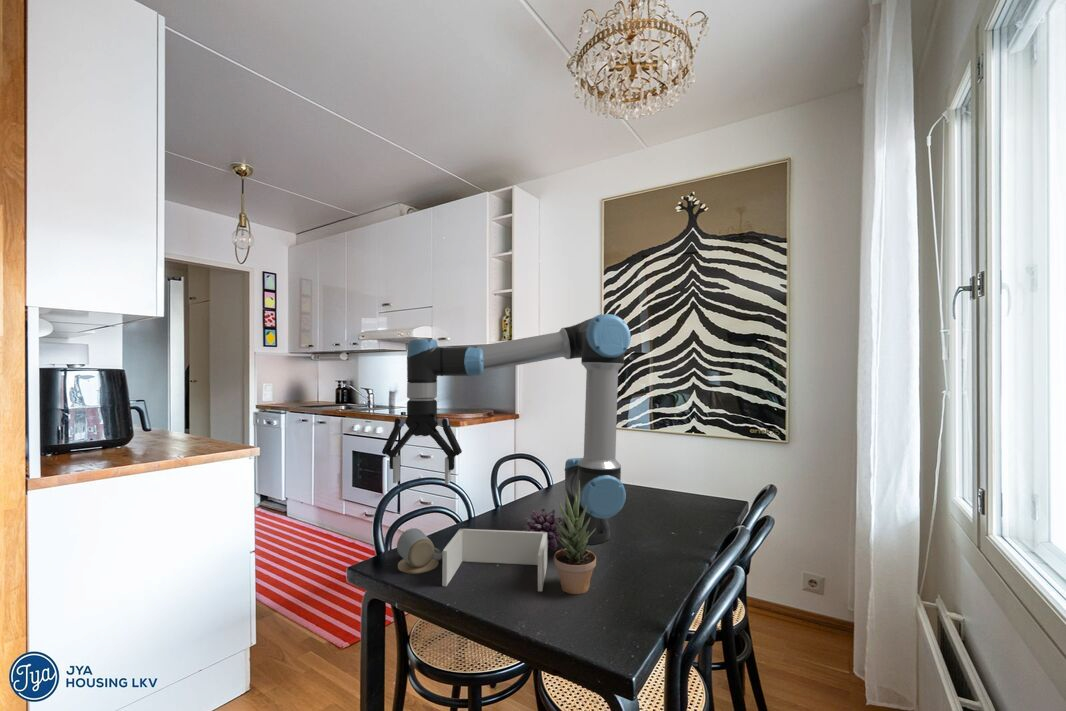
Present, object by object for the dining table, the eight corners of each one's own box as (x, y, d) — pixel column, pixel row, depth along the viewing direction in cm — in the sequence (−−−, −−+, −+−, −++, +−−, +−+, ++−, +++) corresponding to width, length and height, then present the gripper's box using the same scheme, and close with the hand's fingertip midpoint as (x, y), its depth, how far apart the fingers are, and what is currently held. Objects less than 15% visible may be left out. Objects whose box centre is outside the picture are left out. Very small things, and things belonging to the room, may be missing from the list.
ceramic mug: (408, 572, 112) (409, 540, 113) (395, 561, 119) (396, 530, 119) (448, 562, 119) (448, 532, 119) (434, 552, 125) (435, 523, 125)
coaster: (443, 558, 123) (443, 555, 123) (431, 574, 113) (431, 572, 113) (406, 556, 124) (406, 554, 124) (391, 572, 114) (391, 570, 114)
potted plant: (566, 602, 100) (566, 485, 100) (547, 583, 108) (547, 476, 109) (606, 593, 104) (605, 481, 104) (584, 575, 112) (584, 472, 113)
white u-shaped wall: (547, 563, 119) (547, 532, 119) (542, 591, 104) (542, 555, 104) (459, 559, 122) (459, 528, 122) (442, 586, 107) (442, 550, 107)
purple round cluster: (574, 552, 127) (574, 507, 127) (544, 565, 118) (544, 517, 119) (543, 540, 135) (543, 499, 135) (513, 552, 127) (513, 508, 127)
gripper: (473, 398, 122) (473, 479, 122) (381, 398, 125) (381, 477, 124) (466, 400, 115) (466, 487, 114) (369, 400, 117) (368, 484, 117)
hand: (421, 482), depth 119 cm, fingers open, 13 cm apart
